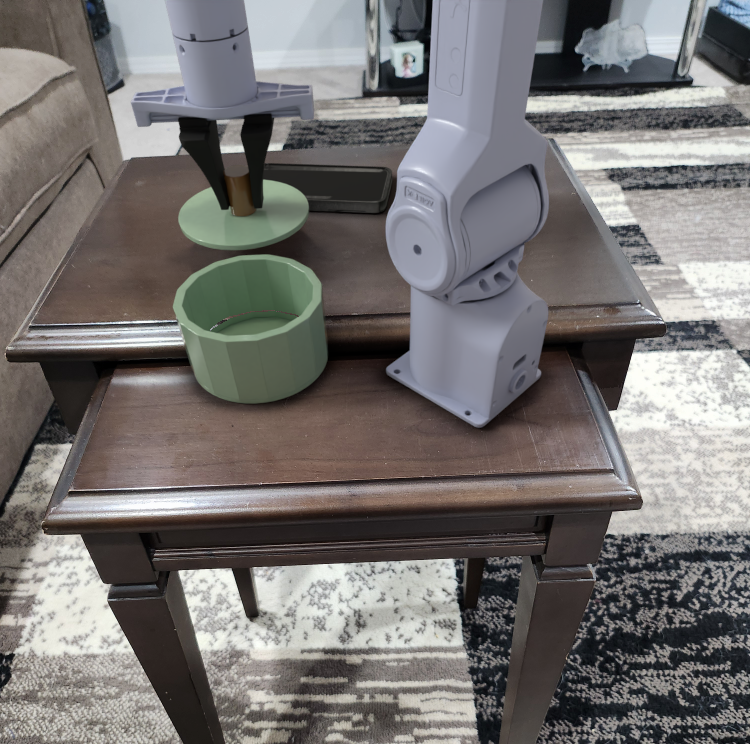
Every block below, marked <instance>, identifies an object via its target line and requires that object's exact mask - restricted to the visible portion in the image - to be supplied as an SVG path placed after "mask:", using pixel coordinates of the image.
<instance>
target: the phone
mask: <svg viewBox="0 0 750 744" xmlns="http://www.w3.org/2000/svg"><path fill="white" fill-rule="evenodd" d="M263 180H271V181H277V182H281V183H284V184H287V185H290V186H292V187H294V188H296V189H298V190H299V191H300V192H301V193H302V194H303V195H304V196H305V197H306V199H307V201H308V204H309V211H312V212H313V211H315V212H337V213H339V212H340V213H365V214H378V213H381V212H385V210H386V209H387V206H388V201H389V197H390V194H391V189H392V185H393V170H392V169H391V168H389V167H387V166H373V165H371V166H369V165H344V164H343V165H342V164H337V165H336V164H313V163H312V164H311V163H283V162H282V163H281V162H280V163H279V162H265V163H264V173H263Z"/></svg>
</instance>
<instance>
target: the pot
mask: <svg viewBox="0 0 750 744" xmlns="http://www.w3.org/2000/svg"><path fill="white" fill-rule="evenodd" d="M323 290H324V289H323V283H322V282H321V281H320V279H319V278H318V276H317V274H316V273H315V272H314V271H313V269H312V268H310V267H308V266H306V265H304V264H302V263H301V262H300V261H297V260H295V259H293V258H289V257H285V256H280V255H274V254H267V253H266V254H247V255H245V254H244V255H237V256H233V257H229V258H226V259H225V258H224V259H221V260H218V261H214V262H213V263H210V264H209V265H207V266H205V267H203V268H201V269H199V270H197V271H196V272H193V273H192V274H190V275H189V277H188V278H187V279H186V280H185V281H184V282H183V283H182V284H181V285H180V286H179V287H178V288H177V290H176V292H175V295H174V296H175V297H174V300H173V304H172V310H173V313H174V316H175V319H176V323H177V326H178V329H179V332H180V333H179V334H180V336H181V339H182V342H183V345H184V349H185V352H186V355H187V358H188V362H189V364H190V368H191V370H192V372H193V374H194V378H195V379H196V381H197V383H198V384H199V385H200V386H201V388H203V389H204V390H205V391H206V392H207V393H209V394H211V395H212V396H214V397H216V398H219V399H220V400H221V399H222V400H224V401H228V402H233V403H238V404H265V403H270V402H276V401H279V400H283V399H286V398H289V397H292V396H294V395H296V394H298V393H300V392H302V391H304V389H307V388H308V387H309V386H310V385H312V384H313V383H314V382H315V381H316V380H317V379H318V378H319V377H320V375H321V374H322V373H323V372H324V371H325V368H326V366H327V364H328V363H327V362H328V358H329V339H328V330H327V320H326V310H325V299H324V291H323ZM262 310H275V311H268V312H251V313H247V314H244V315H240V316H237V317H233V318H230V319H228V320H227V321H225V322H223V323H222V324H220V325H218V326H217V327H215V328H213V329H212V330H211V331H210V329H211V328H212V327H213V326H215V325H216V324H217V323H218V322H220V321H222V320H223V319H225V318H227V317H229V316H233V315H238V314H241V313H246V312H250V311H262ZM276 311H282V312H287V313H292V314H296V315H298V316H299V317H297V316H295V315H290V314H285V313H281V312H276Z"/></svg>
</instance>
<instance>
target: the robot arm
mask: <svg viewBox="0 0 750 744" xmlns="http://www.w3.org/2000/svg"><path fill="white" fill-rule="evenodd" d="M164 3H165V8H166V13H167V17H168V22H169V25H170V30H171V35H172V38H173V43H174V49H175V52H176V57H177V62H178V66H179V70H180V75H181V79H182V83H183V85H178V86H173V87H167V88H163V89H156V90H155V89H154V90H147V91H135V92H134V94H133V96H132V98H131V101H130V106H131V108H132V112H133V116H134V119H135V123H136V126H137V128H147V127H150V126H151V125H152V124H161V123H178V126H179V134H178V139H179V143H180V144H181V146H182V148H183V149H184V150H185V152H186V153H187V154H188V155H189V156H190V157H191V159H192V160H193V161H194V162H195V164H196V165H197V166H198V168H199V169H200V170H201V172H202V174H203V175H204V177H205V178H206V180H207V182H208V184H209V185H210V187H211V188H212V189H213V191H214V193H215V196H216V198H217V200H218V202H219V205H220V208H221V210H229V201H228V196H227V191H226V186H225V181H224V176H223V170H224V169H225V164H224V161H223V155H222V149H221V143H220V136H219V130H218V122H217V121H226V120H227V121H229V120H233V121H234V120H243V122H242V125H241V130H240V134H239V136H240V141H241V144H242V147H243V151H244V156H245V160H246V164H247V165H246V166H247V167H248V169H249V174H250V182H251V192H252V200H253V205H254V209H258V208H262V206H263V199H264V196H263V173H264V163H266V158H267V156H268V155H267V154H268V150H269V146H270V143H271V140H272V136H273V131H274V130H273V129H274V123H275V119H276V118H277V119H279V118H298V117H299V118H300V120H303V121H309V120H310V121H311V120H314V119H315V102H314V91H313V90H314V89H313V85H312V84H291V83H290V84H289V83H280V82H279V83H278V82H271V81H270V82H269V81H259V80H257V78H256V69H255V63H254V57H253V51H252V44H251V38H250V30H249V23H248V18H247V9H246V4H245V0H164ZM543 5H544V0H432V7H431V8H432V10H431V30H430V31H431V32H430V52H429V54H430V55H429V72H428V90H427V91H428V92H427V94H428V95H427V112H426V113H427V115H426V120H425V122H424V123H423V126H422V127H421V129H420V131H419V132H418V134H417V136H416V137H415V139H414V141H413V142H412V144H411V145H410V146H409V149H408V150H407V151H406V153H405V155H404V157H403V159H402V160H401V162H400V164H399V166H398V168H397V170H396V190H395V191H396V192H395V196H394V200H393V202H392V204H391V206H390V208H389V209H388V212H387V216H386V219H385V239H386V246H387V251H388V254H389V256H390V259H391V262H392V263H393V266H394V267H395V269H396V271H397V272H398V273H399V275H400V277H402V279H403V280H404V281H405V282H406V283H408V285H410V311H409V312H410V314H409V319H410V320H409V350H408V351H407V352H405V353H404V354H402V355H401V356H400V357H398V358H397V359H396V360H395V361H393V362H392V363H390V364H389V365H388V366H386V368H385V373H386V375H387V376H389V377H390V378H392V379H393V380H395V381H397V382H399V383H400V384H401V385H404V386H405V387H406V388H409V389H410V390H412V391H414V392H415V393H417V394H419V395H420V396H421V397H424V398H425V399H427V400H429V401H430V402H432V403H434V404H436V405H437V406H439V407H440V408H442V409H444V410H445V411H448V412H449V413H450V414H453V415H454V416H456V417H457V418H459V419H461V420H462V421H464V422H466V423H467V424H469V425H471V426H473V427H475V428H478V429H480V428H484V427H485V426H486V425H487V424H489V423H490V422H491V421H492V420H493V419H494V418H496V417H497V415H499V414H500V413H501V412H502V411H504V410H505V408H508V406H509V405H510V404H512V403H513V402H514V401H515V400H517V399H518V397H520V396H521V395H522V394H523V393H524V392H525V391H527V390H528V389H529V388H530V387H531V386H532V385H533V384H534V383H536V382H537V381H538V380H539V379H541V376H542V370H541V369H539V364H540V360H541V355H542V350H543V345H544V341H545V340H544V339H545V335H546V332H547V331H546V330H547V325H548V320H549V306H548V303H547V301H546V300H545V299H544V298H542V297H541V296H539V295H538V294H536V293H535V292H534V291H533V290H532V289H530V288H529V287H528V286H527V284H526V283H525V282H524V281H523V280H522V278H521V276H520V274H519V273H518V269H519V263H521V262H522V261H523V257H524V251H525V244H526V243H528V242H530V241H531V240H533V239H534V238H535V237H537V236H538V235H539V233H540V232H541V231H542V229H543V228H544V226H545V224H546V221H547V220H548V219H547V218H548V215H549V210H550V209H549V208H550V197H549V189H548V184H547V179H546V171H545V170H546V169H545V168H546V166H545V162H546V157H547V151H548V146H549V145H548V143H549V142H548V140H547V139H546V137H544V136H543V134H542V133H541V132H540V131H539V130H538V129H537V128H535V126H533V124H531V123H530V121H528V120H527V119H526V113H527V106H528V99H529V94H530V87H531V81H532V74H533V68H534V62H535V57H536V55H535V54H536V49H537V42H538V38H539V37H538V36H539V31H540V24H541V17H542V10H543Z"/></svg>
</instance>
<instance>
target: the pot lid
mask: <svg viewBox="0 0 750 744" xmlns="http://www.w3.org/2000/svg"><path fill="white" fill-rule="evenodd" d="M223 176H224V181H225V186H226V191H227V196H228V201H229V210H221V208H220V205H219V202H218V200H217V198H216V196H215V193H214V191H213V189H212V188H211V186H210V187H208V188H205V189H203V190H201V191H199V192H197V193H196V194H194V195H192V196H191V197H190V198H189V199H188V200H186V202H185V203H184V204H183V205H182V206H181V208H180V209H179V212H178V217H177V219H178V225H179V228H180V231H181V232H182V234H183V235H184V236H185V237H186V238H187V239H188V240H190V241H191V242H193V243H194V244H197V245H199V246H202V247H206V248H210V249H213V250H220V251H246V250H253V249H254V250H255V249H259V248H260V249H261V248H264V247H268V246H272V245H274V244H277V243H279V242H281V241H284V240H286V239H288V238H290V237H291V236H293V235H294V234H296V233H297V232H298V231H299V230H300V229H302V228H303V226H305V225H306V223H307V221H308V219H309V217H310V216H309V215H310V210H309V204H308V201H307V199H306V197H305V196H304V195H303V194H302V193H301V192H300V191H299V190H298V189H296V188H294V187H292V186H290V185H287V184H284V183H281V182H277V181H271V180H263V196H264V199H263V206H262V208H258V209H254V205H253V200H252V192H251V182H250V174H249V169H248V165H244V164H233V165H229V166H227V167H224V170H223Z"/></svg>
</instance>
